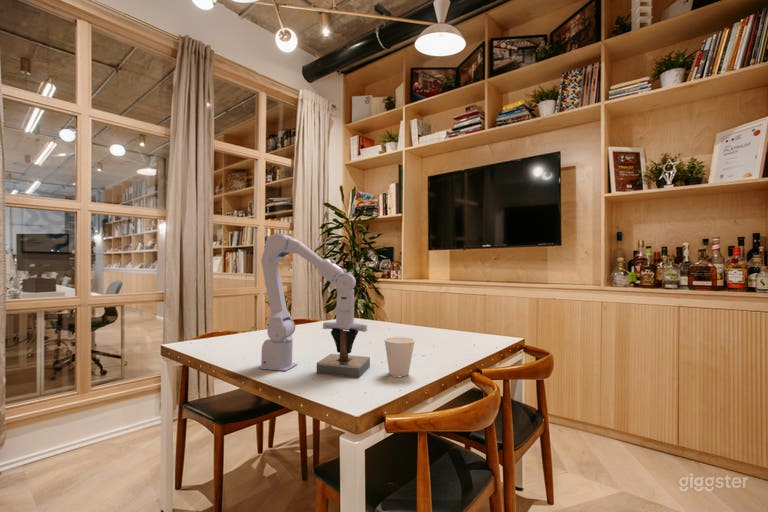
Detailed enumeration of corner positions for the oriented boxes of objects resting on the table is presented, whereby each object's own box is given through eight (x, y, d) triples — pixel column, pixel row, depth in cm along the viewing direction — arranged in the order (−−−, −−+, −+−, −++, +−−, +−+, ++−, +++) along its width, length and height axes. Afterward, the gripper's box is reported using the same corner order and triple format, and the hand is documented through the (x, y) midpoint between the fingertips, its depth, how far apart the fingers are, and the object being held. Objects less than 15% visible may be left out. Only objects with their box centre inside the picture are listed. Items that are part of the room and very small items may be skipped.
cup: (378, 371, 121) (379, 337, 121) (406, 368, 124) (407, 335, 124) (390, 380, 111) (390, 343, 112) (420, 377, 115) (420, 341, 115)
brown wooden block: (338, 359, 120) (338, 331, 120) (341, 357, 123) (341, 330, 123) (346, 360, 119) (346, 332, 119) (349, 358, 122) (349, 330, 122)
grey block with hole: (316, 373, 117) (316, 362, 117) (330, 363, 129) (330, 353, 129) (359, 377, 114) (359, 366, 114) (369, 367, 125) (370, 357, 125)
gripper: (319, 310, 119) (318, 353, 119) (362, 313, 116) (361, 357, 116) (328, 308, 126) (326, 348, 126) (369, 310, 123) (368, 351, 122)
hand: (344, 352), depth 121 cm, fingers closed on brown wooden block, 3 cm apart
